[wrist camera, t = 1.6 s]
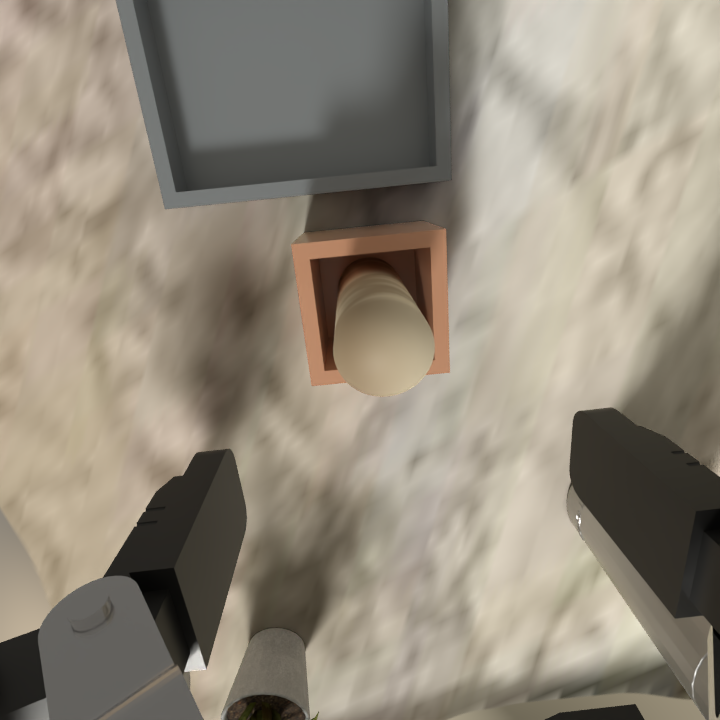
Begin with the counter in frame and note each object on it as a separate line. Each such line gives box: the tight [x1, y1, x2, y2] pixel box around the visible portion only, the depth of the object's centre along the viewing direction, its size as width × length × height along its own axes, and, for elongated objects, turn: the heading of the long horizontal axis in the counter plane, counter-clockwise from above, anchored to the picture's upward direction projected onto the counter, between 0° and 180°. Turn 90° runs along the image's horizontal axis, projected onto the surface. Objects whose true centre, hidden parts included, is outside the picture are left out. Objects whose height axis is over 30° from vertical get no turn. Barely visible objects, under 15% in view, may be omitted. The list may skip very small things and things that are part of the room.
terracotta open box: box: [291, 221, 450, 386], centre depth 26 cm, size 8×8×7 cm
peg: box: [333, 257, 435, 397], centre depth 23 cm, size 4×4×12 cm
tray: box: [116, 0, 452, 209], centre depth 24 cm, size 16×12×3 cm
